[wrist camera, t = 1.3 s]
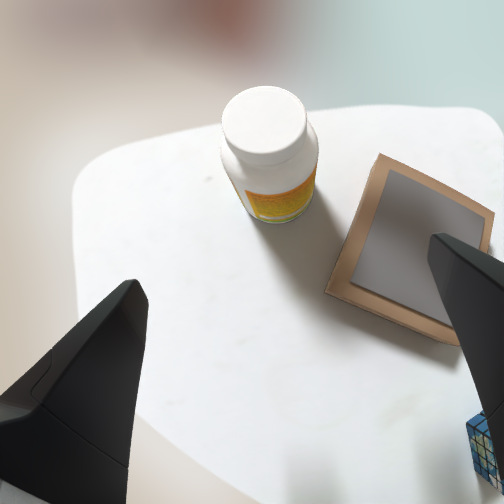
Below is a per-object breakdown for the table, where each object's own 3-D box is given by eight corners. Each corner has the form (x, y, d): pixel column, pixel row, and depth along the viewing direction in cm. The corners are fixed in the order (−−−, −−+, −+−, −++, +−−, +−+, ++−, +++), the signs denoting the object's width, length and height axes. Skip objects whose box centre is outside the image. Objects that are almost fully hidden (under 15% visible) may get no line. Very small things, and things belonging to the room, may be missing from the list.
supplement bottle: (328, 186, 23) (346, 112, 13) (280, 240, 22) (269, 193, 13) (272, 144, 24) (258, 59, 14) (225, 194, 24) (183, 127, 14)
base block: (442, 342, 20) (460, 346, 17) (324, 292, 21) (328, 290, 18) (477, 221, 21) (496, 211, 18) (371, 168, 22) (380, 151, 19)
